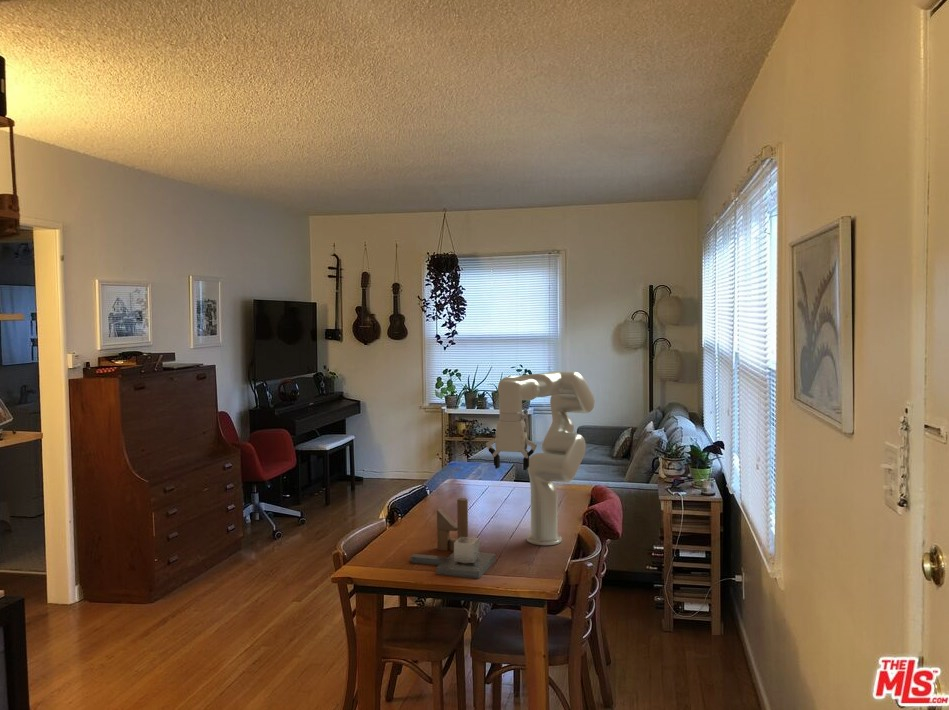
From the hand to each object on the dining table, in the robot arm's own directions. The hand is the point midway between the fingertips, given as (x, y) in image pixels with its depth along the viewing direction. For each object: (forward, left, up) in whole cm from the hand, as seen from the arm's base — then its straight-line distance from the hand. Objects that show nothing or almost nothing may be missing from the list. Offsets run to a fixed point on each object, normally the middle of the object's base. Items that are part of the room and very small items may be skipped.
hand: (511, 468), depth 228 cm
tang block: (+12, -18, -30) cm, 37 cm away
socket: (+12, -12, -28) cm, 32 cm away
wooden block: (-3, -22, -30) cm, 38 cm away
